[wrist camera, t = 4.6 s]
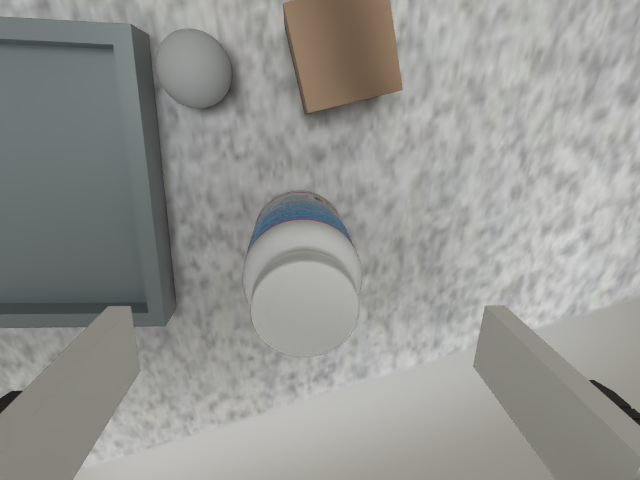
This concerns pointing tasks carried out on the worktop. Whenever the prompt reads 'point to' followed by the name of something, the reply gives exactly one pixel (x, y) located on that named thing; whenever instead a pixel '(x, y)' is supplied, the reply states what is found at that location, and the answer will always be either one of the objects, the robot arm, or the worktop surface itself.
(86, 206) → the tray
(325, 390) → the worktop surface
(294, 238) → the pill bottle
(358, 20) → the walnut block
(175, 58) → the ball
